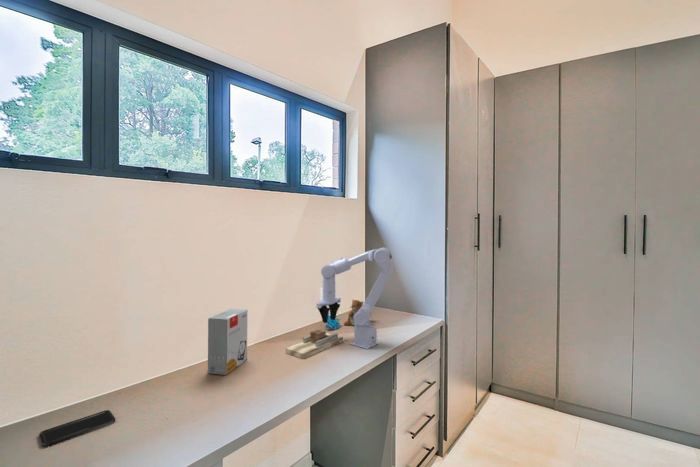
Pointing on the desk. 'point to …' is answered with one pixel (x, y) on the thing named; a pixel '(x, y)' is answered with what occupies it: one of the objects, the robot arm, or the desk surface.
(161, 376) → the desk surface
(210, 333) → the hard drive box
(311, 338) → the walnut cube
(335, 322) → the gear
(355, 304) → the stuffed squirrel
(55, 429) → the phone
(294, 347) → the channel board
